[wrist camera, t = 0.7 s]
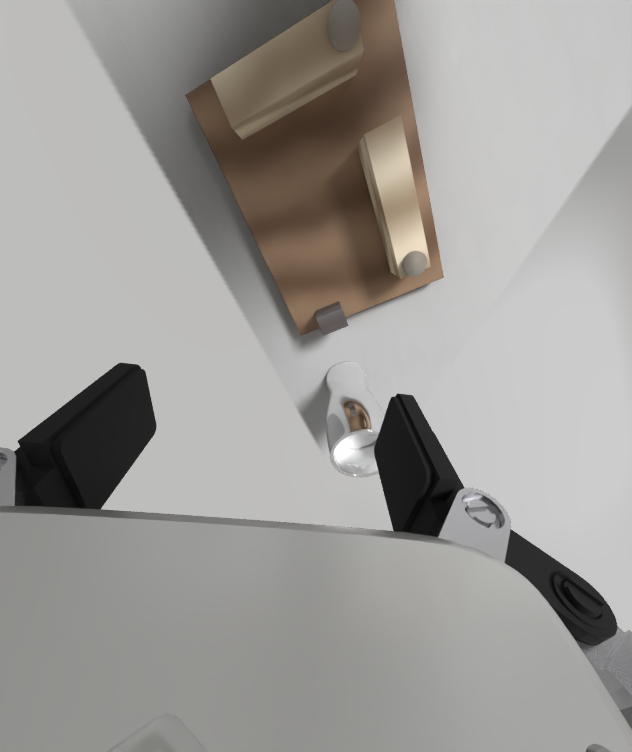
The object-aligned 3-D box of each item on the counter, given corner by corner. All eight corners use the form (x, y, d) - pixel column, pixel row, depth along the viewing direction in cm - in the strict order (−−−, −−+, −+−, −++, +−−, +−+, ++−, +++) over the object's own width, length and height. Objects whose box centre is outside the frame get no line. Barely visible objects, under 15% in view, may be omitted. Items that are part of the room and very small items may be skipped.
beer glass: (313, 385, 41) (314, 463, 28) (340, 349, 38) (355, 417, 25) (351, 405, 43) (368, 487, 30) (379, 372, 40) (412, 447, 27)
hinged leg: (417, 261, 30) (433, 268, 26) (391, 273, 31) (403, 281, 27) (388, 129, 25) (403, 112, 21) (356, 145, 25) (365, 132, 21)
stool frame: (194, 103, 25) (160, 70, 20) (382, -15, 22) (406, -96, 16) (301, 329, 37) (299, 350, 31) (436, 274, 33) (462, 286, 28)
